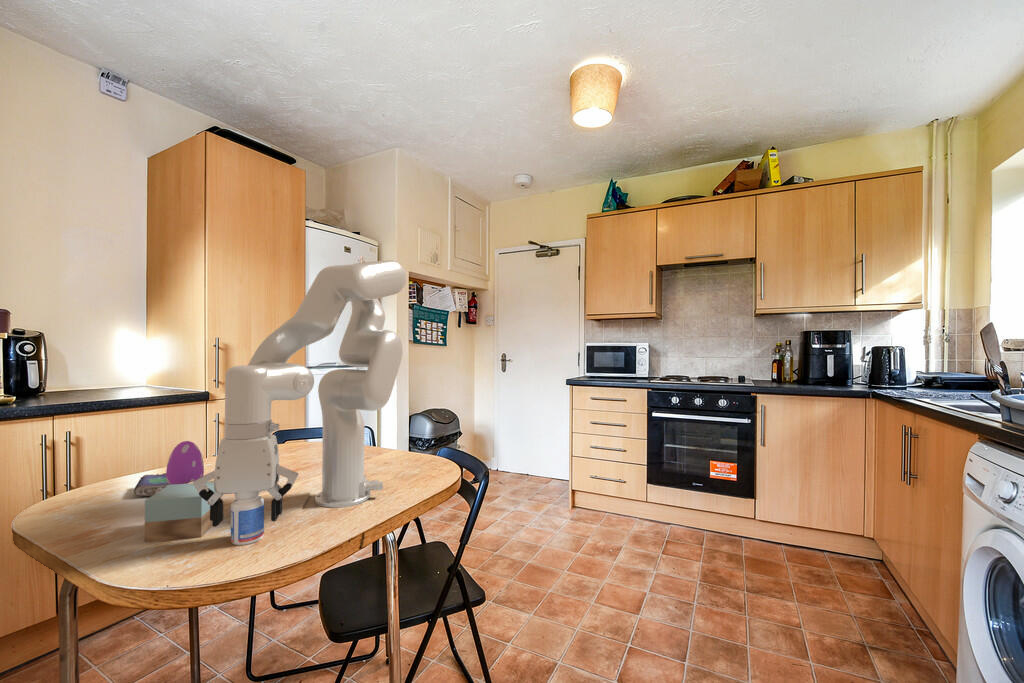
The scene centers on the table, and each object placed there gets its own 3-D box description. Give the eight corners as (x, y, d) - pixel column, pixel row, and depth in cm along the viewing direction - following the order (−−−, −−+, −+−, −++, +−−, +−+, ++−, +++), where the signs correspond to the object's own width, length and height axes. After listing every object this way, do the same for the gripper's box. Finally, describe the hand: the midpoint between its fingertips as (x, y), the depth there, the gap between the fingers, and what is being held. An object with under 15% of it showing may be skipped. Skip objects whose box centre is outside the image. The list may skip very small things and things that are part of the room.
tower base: (219, 519, 90) (219, 500, 90) (201, 538, 82) (201, 517, 82) (168, 524, 88) (169, 504, 88) (144, 544, 79) (144, 522, 79)
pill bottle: (270, 534, 84) (271, 484, 84) (249, 547, 78) (249, 493, 78) (245, 531, 85) (246, 482, 85) (223, 544, 79) (223, 491, 79)
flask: (186, 470, 113) (182, 484, 104) (185, 481, 113) (181, 496, 104) (140, 474, 108) (131, 489, 99) (139, 486, 108) (130, 502, 99)
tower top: (219, 500, 90) (219, 481, 90) (201, 517, 82) (201, 496, 82) (169, 504, 88) (169, 484, 88) (144, 522, 79) (144, 500, 79)
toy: (183, 515, 92) (183, 445, 92) (157, 513, 93) (158, 443, 93) (211, 504, 98) (211, 438, 98) (186, 501, 100) (187, 437, 100)
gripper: (302, 425, 87) (301, 509, 87) (203, 428, 83) (202, 518, 83) (294, 432, 80) (292, 524, 80) (185, 437, 75) (184, 534, 75)
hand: (247, 521), depth 81 cm, fingers open, 9 cm apart
